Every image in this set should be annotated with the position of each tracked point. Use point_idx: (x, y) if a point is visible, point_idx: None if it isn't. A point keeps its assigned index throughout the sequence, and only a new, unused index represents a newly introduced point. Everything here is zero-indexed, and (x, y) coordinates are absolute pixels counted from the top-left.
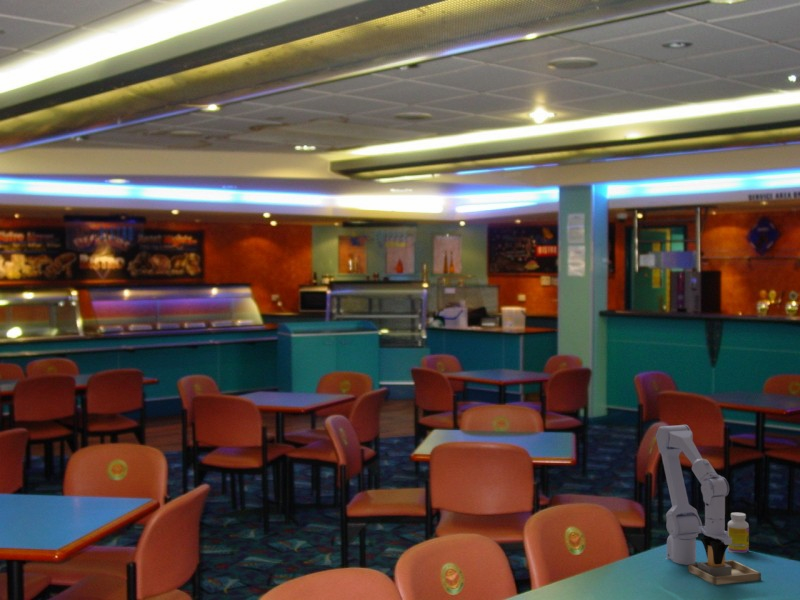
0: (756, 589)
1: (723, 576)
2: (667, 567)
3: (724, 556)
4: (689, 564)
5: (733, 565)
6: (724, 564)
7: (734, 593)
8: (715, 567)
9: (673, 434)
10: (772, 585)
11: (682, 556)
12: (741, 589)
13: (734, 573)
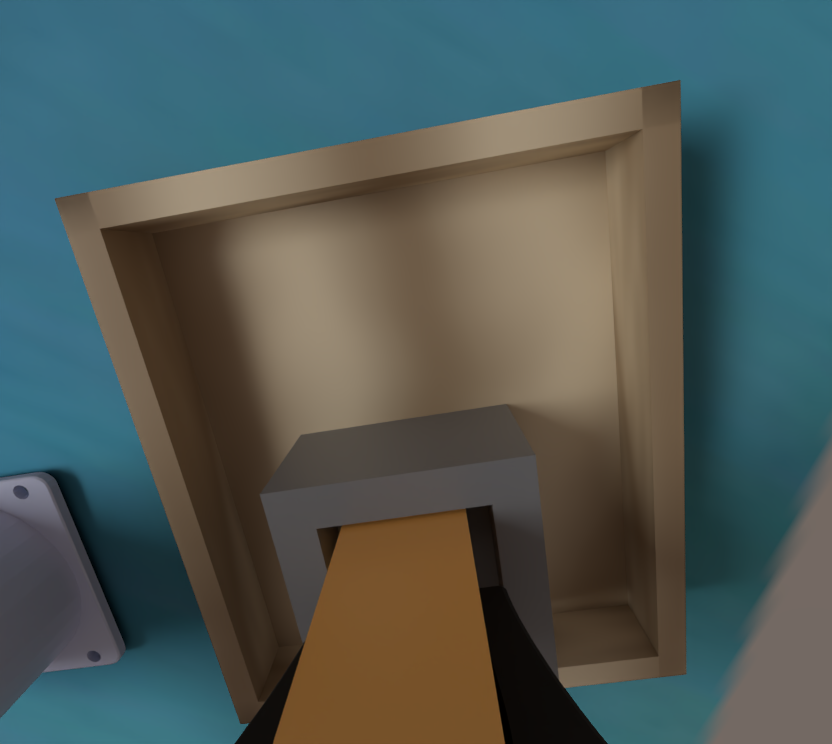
0: (781, 271)
1: (667, 580)
2: (97, 709)
3: (479, 602)
4: (238, 712)
5: (157, 229)
6: (465, 519)
7: (805, 506)
8: (535, 643)
9: None
10: (724, 23)
11: (4, 707)
12: (733, 407)
13: (374, 312)
